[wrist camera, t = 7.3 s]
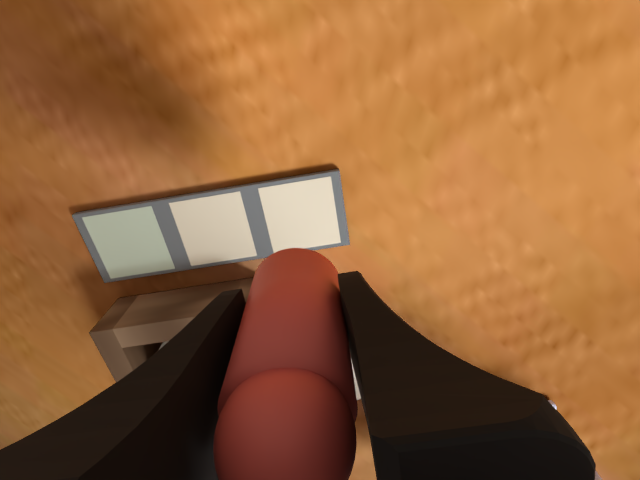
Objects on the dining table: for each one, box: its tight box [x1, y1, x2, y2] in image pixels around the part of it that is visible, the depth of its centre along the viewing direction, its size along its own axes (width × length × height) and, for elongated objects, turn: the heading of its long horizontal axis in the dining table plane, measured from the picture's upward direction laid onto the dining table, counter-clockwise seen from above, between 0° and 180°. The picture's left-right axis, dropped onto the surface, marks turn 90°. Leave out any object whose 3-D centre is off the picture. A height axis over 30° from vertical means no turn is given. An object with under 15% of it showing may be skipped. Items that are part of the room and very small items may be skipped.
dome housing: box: [89, 278, 253, 383], centre depth 21 cm, size 8×8×3 cm
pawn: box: [213, 248, 358, 480], centre depth 9 cm, size 3×3×7 cm
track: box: [72, 169, 350, 283], centre depth 19 cm, size 14×4×1 cm, turn 99°
